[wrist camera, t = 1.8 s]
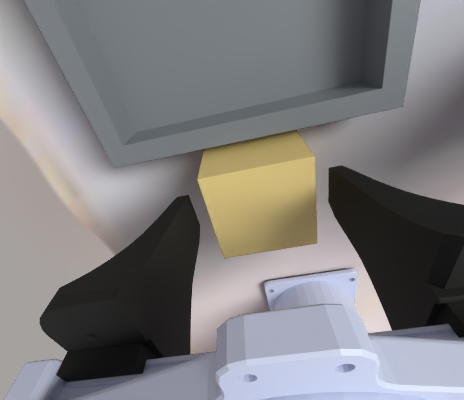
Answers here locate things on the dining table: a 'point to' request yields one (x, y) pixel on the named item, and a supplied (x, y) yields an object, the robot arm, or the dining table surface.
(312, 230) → the mustard block
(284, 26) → the tray
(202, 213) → the dining table surface
